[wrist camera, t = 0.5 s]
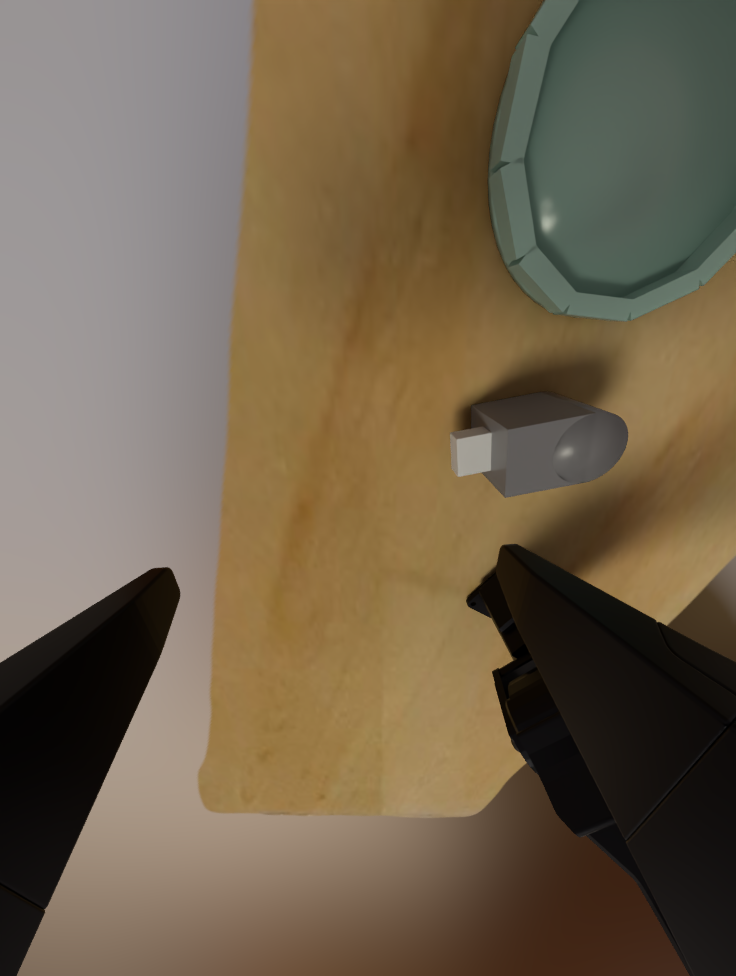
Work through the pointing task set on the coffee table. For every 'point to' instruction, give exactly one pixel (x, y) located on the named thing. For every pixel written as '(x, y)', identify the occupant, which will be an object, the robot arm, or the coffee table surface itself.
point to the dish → (617, 154)
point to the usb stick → (538, 443)
